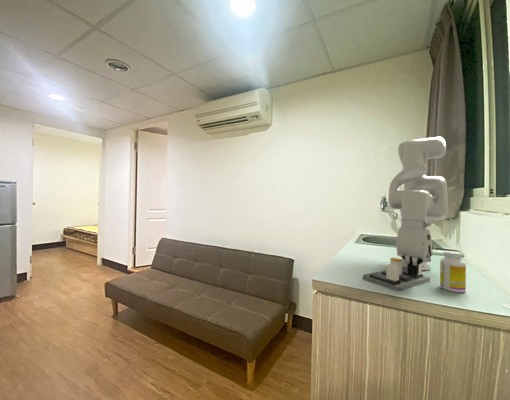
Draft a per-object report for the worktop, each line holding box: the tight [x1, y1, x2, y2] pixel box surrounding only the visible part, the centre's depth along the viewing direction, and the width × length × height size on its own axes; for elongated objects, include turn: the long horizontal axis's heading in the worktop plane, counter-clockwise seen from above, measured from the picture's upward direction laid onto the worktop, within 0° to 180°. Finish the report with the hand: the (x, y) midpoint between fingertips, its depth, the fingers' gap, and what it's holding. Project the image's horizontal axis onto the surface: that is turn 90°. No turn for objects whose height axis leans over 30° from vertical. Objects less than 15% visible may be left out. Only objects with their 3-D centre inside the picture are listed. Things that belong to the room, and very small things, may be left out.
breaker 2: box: [418, 263, 423, 275], centre depth 87 cm, size 2×3×5 cm
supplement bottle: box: [439, 250, 467, 293], centre depth 78 cm, size 7×7×13 cm
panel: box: [362, 268, 431, 292], centre depth 86 cm, size 21×13×2 cm, turn 118°
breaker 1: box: [385, 263, 399, 281], centre depth 80 cm, size 2×3×5 cm
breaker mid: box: [389, 257, 403, 275], centre depth 86 cm, size 2×3×6 cm
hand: (412, 275), depth 81 cm, fingers closed
